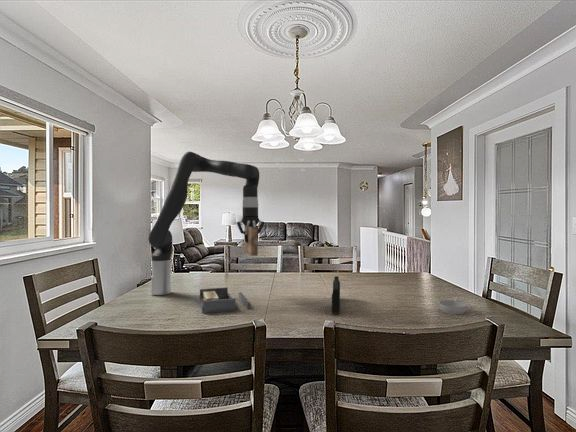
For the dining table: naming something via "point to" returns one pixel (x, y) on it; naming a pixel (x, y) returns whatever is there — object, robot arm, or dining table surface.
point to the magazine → (336, 296)
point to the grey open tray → (220, 301)
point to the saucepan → (453, 306)
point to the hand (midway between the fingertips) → (250, 242)
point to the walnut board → (251, 242)
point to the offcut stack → (210, 296)
